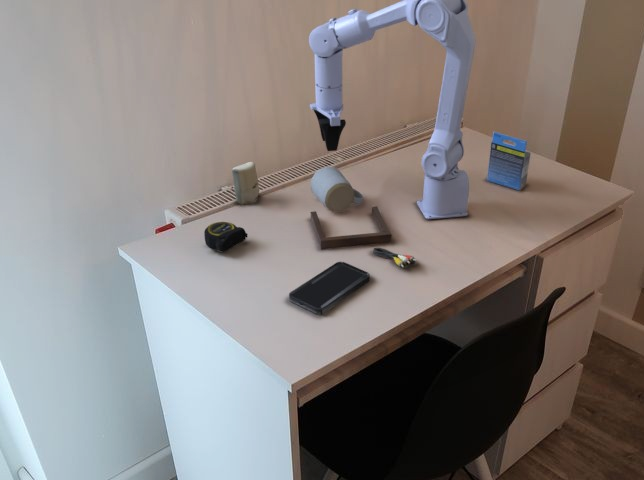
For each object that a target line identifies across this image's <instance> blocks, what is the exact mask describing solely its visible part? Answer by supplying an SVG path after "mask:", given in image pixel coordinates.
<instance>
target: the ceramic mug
mask: <svg viewBox="0 0 644 480" xmlns="http://www.w3.org/2000/svg"><path fill="white" fill-rule="evenodd" d="M310 190H311V193H312V194H313V195H314V196H315V197H316V199H318V201H319V202H320V203H321V204H322V205H323V206H324V207H325V209H327V210H329V211H331V212H333V213H340V212H344V211H346V210H348V209H349V207H351V206H352V204H353V205H361V204H362V202H363V201H364V195H363V194H362V193H361V192H360V191H358V190H357V189H355V188H353V186H352V184H351V183H350V182H349V180H348V179H346V177H345V175H344V174H343V173H342V172H341V171H340V170H339V169H338V168H337V167H334V166H323V167H321V168H319V169H318V170H316V172H315V173H314V174H313V175H312V177H311V179H310Z"/></svg>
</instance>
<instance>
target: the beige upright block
mask: <svg viewBox="0 0 644 480" xmlns="http://www.w3.org/2000/svg"><path fill="white" fill-rule="evenodd" d="M231 173H232V179H233V186H234V193H235V199H236V203H237V204H239V205H243V206H244V205H247V204H250V205H251V204H254V203H256V202H257V201H258V199H259V194H260V186H259V177H258V173H257V169H256V163H255V162H254V161H248V162H245V163H243V164H239V165H237V166H235V167H232V169H231Z"/></svg>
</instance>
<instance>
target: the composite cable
mask: <svg viewBox="0 0 644 480" xmlns="http://www.w3.org/2000/svg"><path fill="white" fill-rule="evenodd" d="M372 253H373V254H374V255H375V256H380V257H383V258H389V259H391V260H392V261H393V262H394V264H395V265H397V266H398V267H400V268H402V269H405V268H406V269H407V270H408V268H409V266H412V265H415V263H416V262H417V259H416V258H415V257H414V256H413V255H408V254H399V253H394V252H392V251H390V250H388V249H386V248H384V247H383V248H382V247H374V248H373V252H372Z"/></svg>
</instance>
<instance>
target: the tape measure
mask: <svg viewBox="0 0 644 480" xmlns="http://www.w3.org/2000/svg"><path fill="white" fill-rule="evenodd" d="M203 232H204V233H203V234H204V242H205V244H206V245H205V246H207V248H209V249H211V250H212V251H213V250H214V251H218V252H221V253H226V252H228V251H229V250H230V249H232V248H234V247H235V246H237V245H239V244H241V243H243V242H244V241H245V240H246V239H247V238H248V233H247V232H246V230H245V229H244V228H243V227H241V226H236V224H235V223H232V222H228V221H218V222H213V223H211V224H209V225H208V226H207V227H206V228H205V229H204V231H203Z"/></svg>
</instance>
